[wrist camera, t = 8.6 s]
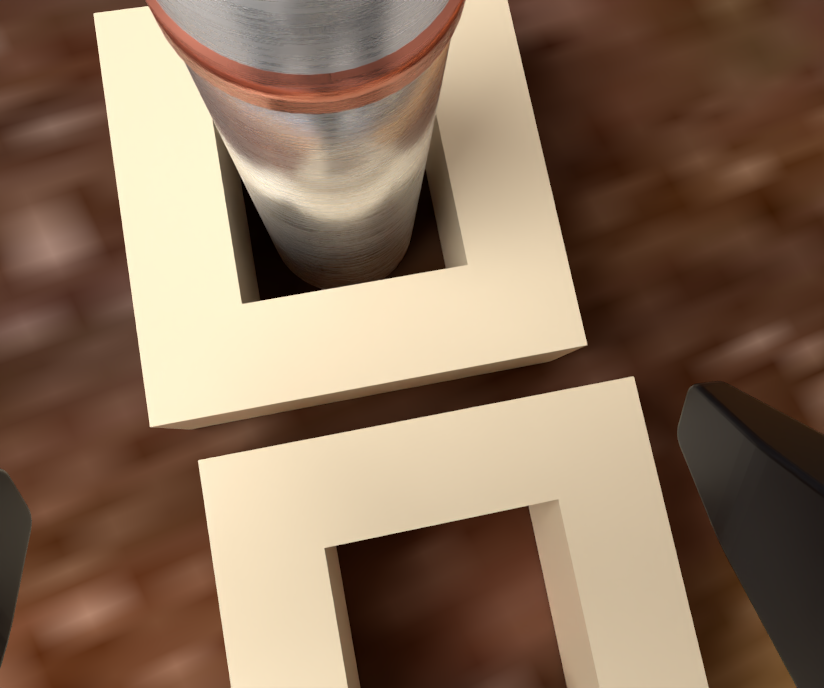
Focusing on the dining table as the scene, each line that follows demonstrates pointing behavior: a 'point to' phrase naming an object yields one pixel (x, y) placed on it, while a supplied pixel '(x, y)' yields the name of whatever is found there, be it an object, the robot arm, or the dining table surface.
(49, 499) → the dining table surface
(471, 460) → the collar
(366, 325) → the collar
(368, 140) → the tube
